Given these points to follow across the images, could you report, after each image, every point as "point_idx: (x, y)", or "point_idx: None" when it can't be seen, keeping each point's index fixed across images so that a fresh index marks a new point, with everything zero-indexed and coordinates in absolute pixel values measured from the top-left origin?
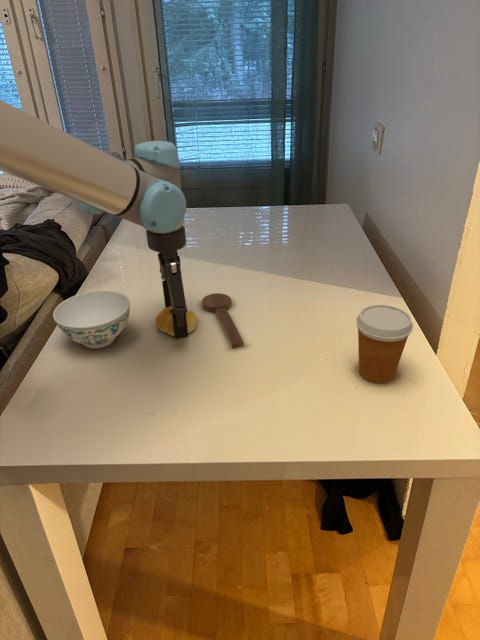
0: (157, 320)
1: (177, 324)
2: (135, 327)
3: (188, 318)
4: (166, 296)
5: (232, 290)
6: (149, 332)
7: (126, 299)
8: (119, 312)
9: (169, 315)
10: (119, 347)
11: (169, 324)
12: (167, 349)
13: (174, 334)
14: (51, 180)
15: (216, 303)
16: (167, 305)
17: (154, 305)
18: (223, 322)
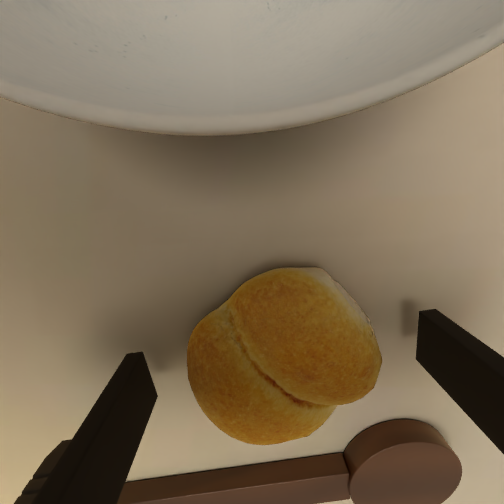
0: (273, 290)
1: (41, 464)
2: (314, 156)
3: (230, 435)
4: (472, 365)
5: (475, 498)
6: (253, 228)
7: (418, 63)
8: (379, 21)
9: (268, 365)
10: None
11: (213, 349)
12: (109, 305)
13: (127, 366)
14: None
15: (379, 482)
16: (427, 326)
17: (497, 242)
18: (240, 492)
